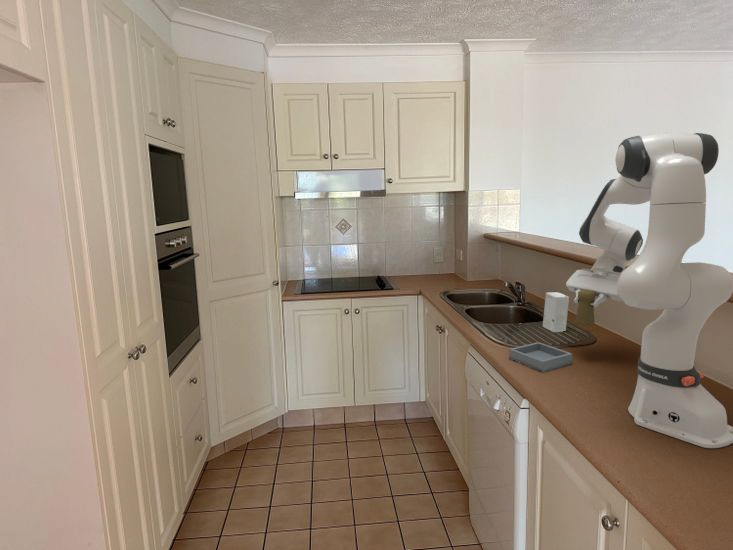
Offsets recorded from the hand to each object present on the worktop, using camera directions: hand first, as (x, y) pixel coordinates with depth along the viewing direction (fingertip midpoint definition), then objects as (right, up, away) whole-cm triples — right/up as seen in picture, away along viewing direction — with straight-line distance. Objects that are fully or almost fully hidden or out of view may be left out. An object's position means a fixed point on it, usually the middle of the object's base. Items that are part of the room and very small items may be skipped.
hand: (584, 304), depth 153 cm
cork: (+1, -6, +1) cm, 7 cm away
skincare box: (+5, -13, +37) cm, 40 cm away
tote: (-14, -19, +3) cm, 24 cm away
